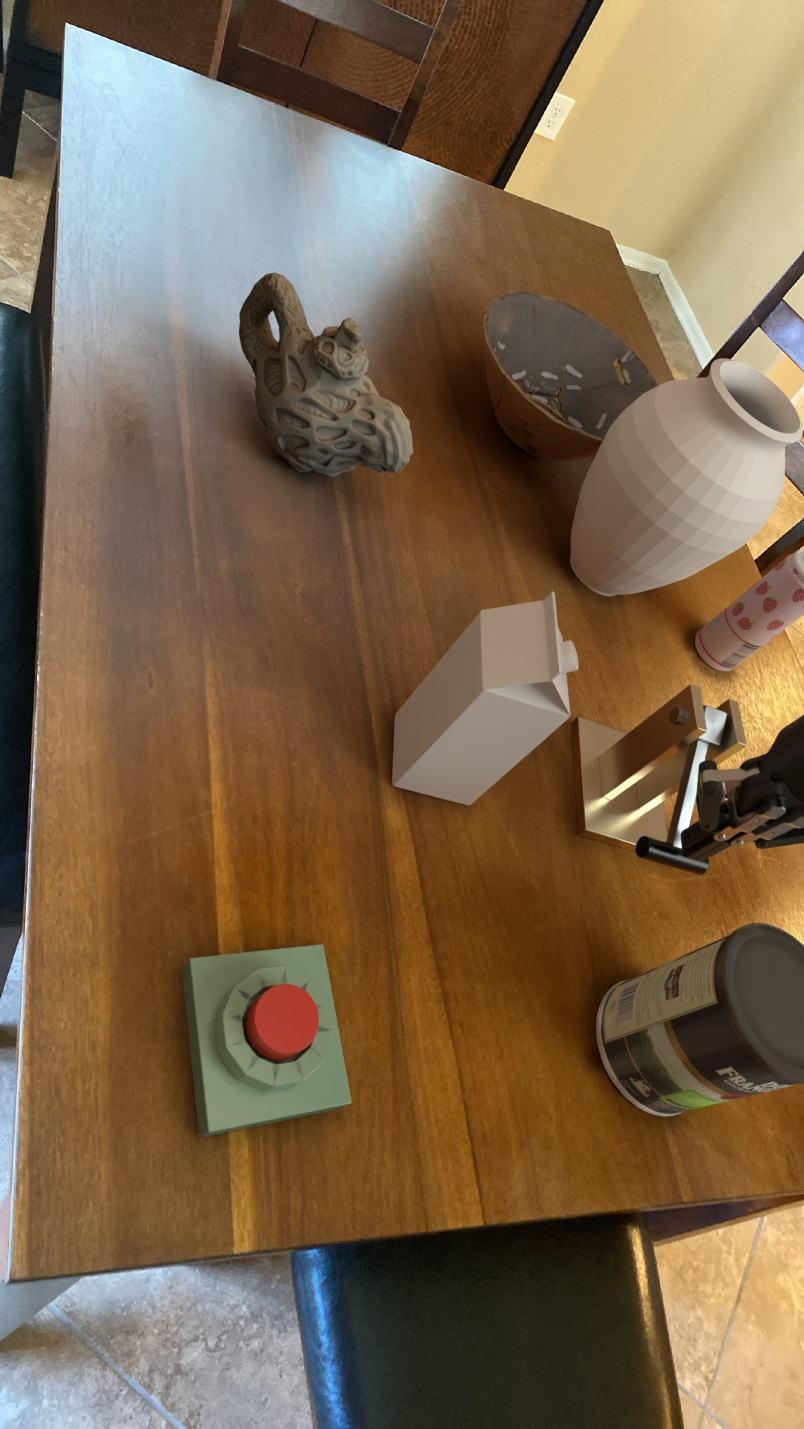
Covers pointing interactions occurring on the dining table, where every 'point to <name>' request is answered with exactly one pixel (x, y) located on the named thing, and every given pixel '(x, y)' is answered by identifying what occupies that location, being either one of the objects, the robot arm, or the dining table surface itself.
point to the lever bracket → (642, 767)
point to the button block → (226, 1062)
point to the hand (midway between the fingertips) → (689, 848)
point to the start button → (282, 1021)
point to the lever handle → (685, 802)
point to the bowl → (557, 375)
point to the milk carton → (485, 703)
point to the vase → (682, 479)
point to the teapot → (317, 389)
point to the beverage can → (755, 616)
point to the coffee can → (708, 1024)
